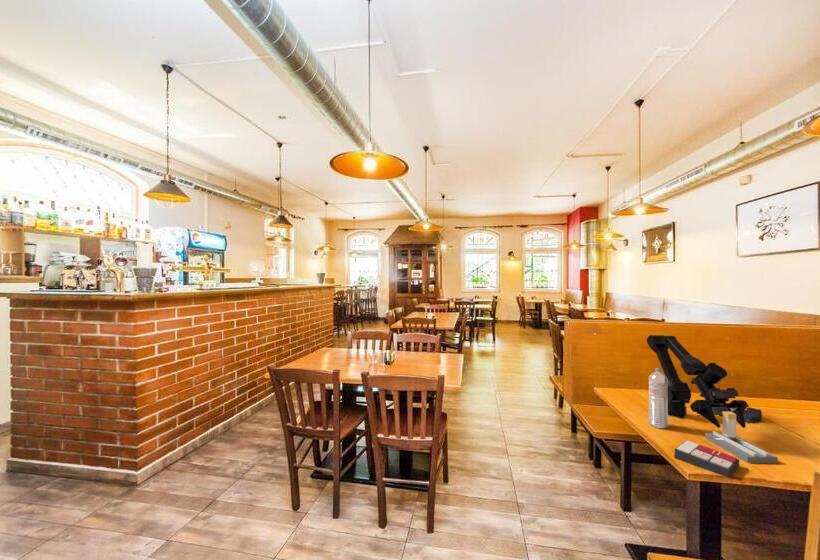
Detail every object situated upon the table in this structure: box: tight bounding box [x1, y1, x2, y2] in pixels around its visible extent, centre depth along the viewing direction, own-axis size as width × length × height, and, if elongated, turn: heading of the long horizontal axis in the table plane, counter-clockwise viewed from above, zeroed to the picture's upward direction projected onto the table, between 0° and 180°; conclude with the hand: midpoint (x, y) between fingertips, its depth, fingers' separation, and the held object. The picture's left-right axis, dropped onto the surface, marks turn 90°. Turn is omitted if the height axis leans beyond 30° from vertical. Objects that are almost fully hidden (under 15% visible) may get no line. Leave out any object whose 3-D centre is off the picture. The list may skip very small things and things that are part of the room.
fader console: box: [704, 430, 779, 464], centre depth 127 cm, size 18×10×3 cm, turn 177°
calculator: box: [673, 440, 740, 478], centre depth 119 cm, size 11×4×15 cm
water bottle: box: [648, 367, 669, 430], centre depth 148 cm, size 7×7×25 cm
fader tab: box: [721, 412, 737, 440], centre depth 131 cm, size 3×3×10 cm
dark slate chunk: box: [712, 406, 763, 424], centre depth 161 cm, size 15×22×5 cm
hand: (732, 427), depth 130 cm, fingers open, 9 cm apart
